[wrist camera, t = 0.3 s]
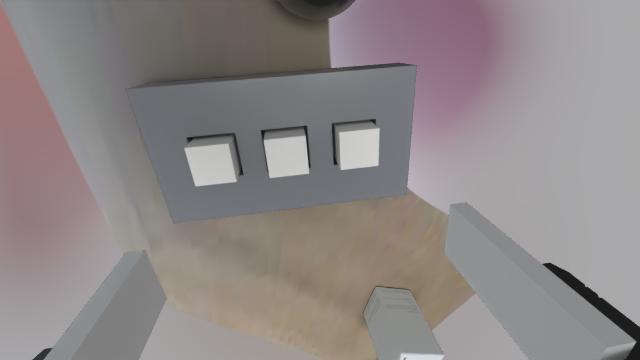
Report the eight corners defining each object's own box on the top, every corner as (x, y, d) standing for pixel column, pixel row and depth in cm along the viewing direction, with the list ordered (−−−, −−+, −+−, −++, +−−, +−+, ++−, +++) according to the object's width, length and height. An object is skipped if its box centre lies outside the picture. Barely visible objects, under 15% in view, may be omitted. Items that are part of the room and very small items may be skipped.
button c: (332, 122, 34) (339, 132, 30) (368, 118, 34) (379, 128, 30) (334, 156, 35) (340, 170, 32) (368, 152, 36) (378, 165, 32)
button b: (265, 128, 33) (263, 139, 29) (302, 125, 33) (305, 135, 29) (270, 163, 35) (269, 178, 31) (306, 159, 35) (309, 173, 31)
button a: (195, 135, 32) (184, 148, 28) (234, 132, 33) (228, 143, 29) (205, 170, 34) (195, 186, 30) (241, 166, 34) (236, 181, 31)
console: (147, 83, 32) (125, 89, 28) (399, 62, 35) (416, 65, 30) (186, 204, 39) (174, 225, 35) (392, 180, 42) (406, 196, 37)
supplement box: (361, 313, 54) (383, 384, 42) (375, 284, 51) (402, 353, 40) (396, 316, 55) (425, 385, 44) (411, 289, 52) (446, 355, 41)
